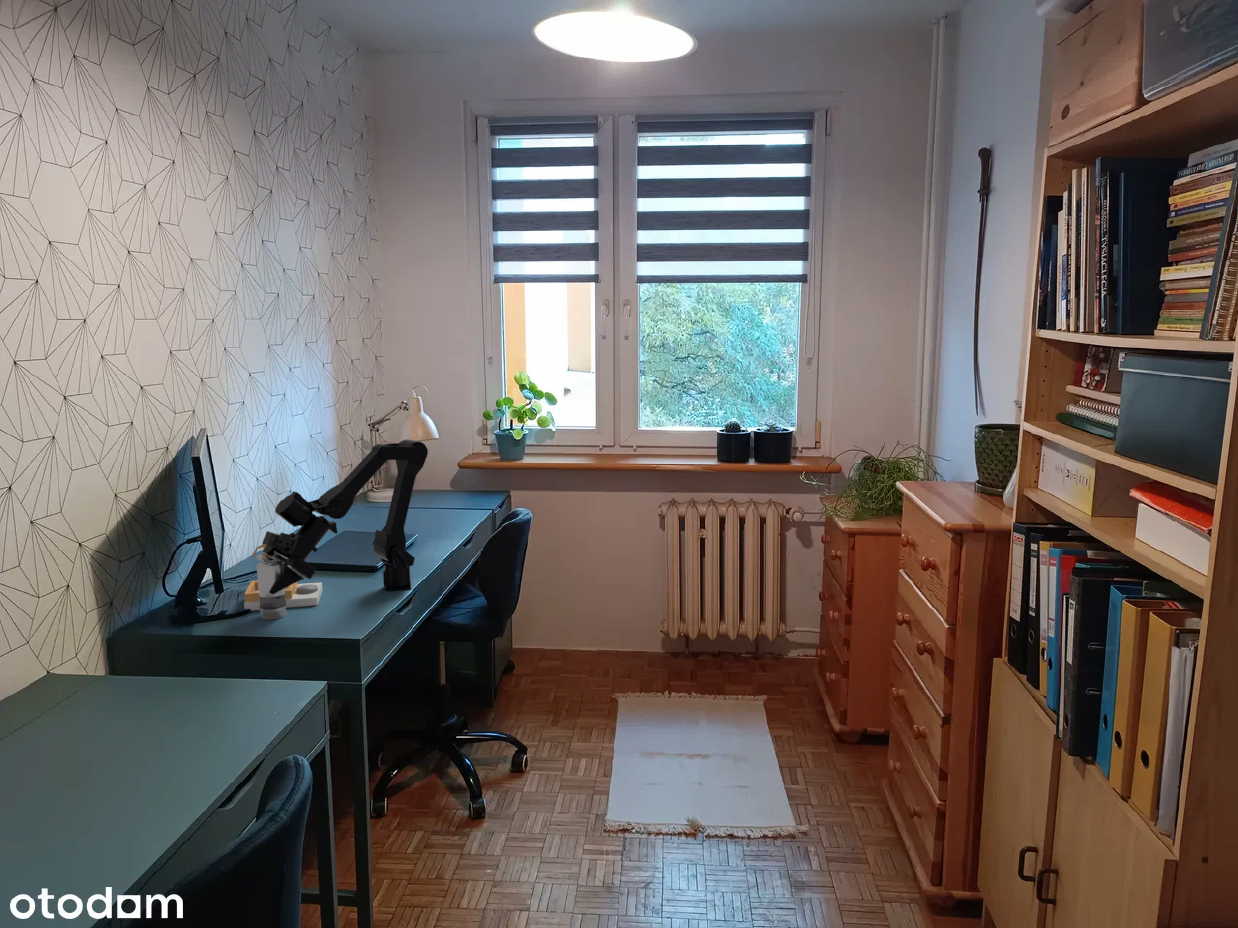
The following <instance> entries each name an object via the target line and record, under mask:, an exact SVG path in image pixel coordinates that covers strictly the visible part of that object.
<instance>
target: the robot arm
mask: <svg viewBox="0 0 1238 928" xmlns="http://www.w3.org/2000/svg"><path fill="white" fill-rule="evenodd" d="M428 454H429V449H428V447H427V445H426V444H425V443H424V442H422V441H418V440H414V439H413V440H412V439H403V440H401V441H400V442H396V443H395V442H394V443H393V442H391V443H377V444H375V445H373V446H372V448H371V450H370V452H369V453H368V454H367V455H366V456H364V458H363V459H362V460H361V461H360V462H359V463H358V464H357V465H356V466H355V467H354V468H353V470H351V472H350V473H349V474H348V475H347V477H345V478H344V479H343V480H342V481H341V482H340V483H339V484H337V485H335V486H332V487H331V488H329V489H328V490H326V492H323V494H322V495H321V496H319V497H318V498H317V499H314V500H311V501H307V500H306V499H305V498H304V497H303V496H302V495H301V494H300V493H299V492H297V491H292V492H291V493H290V494H288V495H287V496H285V497H284V498H283V499H281V500H280V501H279V502H278V503H277V505H276V506H275V511H274V512H275V513H276V514H277V515H278V516H279V517H280V518H282V519H283V520H284V521H286V522H287V523H288V524H290V525H291V526H292V527H294V528H296V527H298V526H299V528H298V530H297V531H296V532H292V533H291V532H290V533H289V534H288V533H285V532H280V533H275V532H272V531H268V530H267V531H266V532H265V535H264V537H263V540H262V544H266V545H267V546H266V547H265V549H264V548H263V550H262V552H263V554H267V555H268V556H267V555H266V561H269V560H279V561H282V562H283V563H281V573H280V575H279V576H278V578H277V579H276V581H275V583H274V584H273V586H272V588H271V589H270V591H269V593H271V594H275V593H277V592H279V591H280V590H282V589H284V588H286V587H288V586H290V585H292V584H294V583H296V582H297V583H298V582H299V581H301V580H302V581H303V580H305V579H308V580H309V581H310V580H312V578H313V577H314V576H315V574H316V568H315V567H314V566H313V565H311V564H310V563H309V562H307V561H306V560H307V558H308V557H309V556H310V555H311V553H312V552H313V553H316V552H317V551H318V548H317V546H318V544H319V543H320V542H321V541H322V539H324V537H325V535H327V533H328V532H331V533H333V534H336V535H337V534H338V528H337V522H336V521H334V520H338V519H339V520H340V519H342V518H344V517H345V516H346V515H347V514H348V512H349V511H350V509H351V508H352V506H353V505H354V502H355V500H356V496H357V495H358V493H359V492H360V491H361V489H363V488H364V487H365V486H366V485H367V483H368V482H369V481H370V480H371V479H372V478H373V477H374V476H375V475H376V474H377V472H378V471H379V470H380V469H381V468H382V467H383V466H384V465H385V464H386V463H387V461H393V460H395V465H396V469H397V474H396V478H395V481H394V482H395V483H394V488H393V491H392V496H391V500H390V504H389V510H388V513H387V516H386V517H387V518H386V523H385V525H384V526H383V527H382V529H381V530H378V529H375V532H374V533H375V535H374V540H373V542H372V543H371V544H372V546H373V552H374V553H375V555H376V556H377V557H378V558H379V559H380V561H381V563H383V564H384V569H383V570H382V578H383V579H382V580H383V587H384V588H385V591H387V592H388V591H398V590H399V591H400V590H409V589H412V580H411V567H412V566H413V565H414V563H415V556H413V555H412V554H411V553H409V552H408V551H407V550H406V549H407V537H406V532H405V525H406V521H407V519H408V518H407V516H408V513H409V508H410V504H411V501H412V496H413V490H414V487H415V483H416V477H417V475H418V474H419V473H420V472H421V470H422V468H424V466H425V463H426V460H427V457H428V456H429V455H428ZM316 513H317V514H319V515H318V516H317V515H316ZM325 516H326V517H328V518H330V519H334V520H333V521H330V520H329V519H327V518H326V517H325ZM262 544H261V545H262ZM303 576H304V577H305V578H304V577H303Z"/></svg>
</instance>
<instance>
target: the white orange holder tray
mask: <svg viewBox="0 0 1238 928" xmlns="http://www.w3.org/2000/svg"><path fill="white" fill-rule="evenodd" d="M322 592H323V582H311V583H298V582H296V583H294V584H292V585H290V586H288V587H286V588H285V596H286V609H287V608H289V609H290V608H298V607H299V608H300V607H310V606H318V605H319V602H320V599H321V596H322ZM243 595H244V596H243V597H244V602H243V606H244V608H243V609H245V608H249V609H251V610H250V611H260V603H259V588H258V580H251V581H250V583H249V585H248V587H247V588H246V590H245V592H244V594H243Z"/></svg>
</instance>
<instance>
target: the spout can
mask: <svg viewBox="0 0 1238 928" xmlns="http://www.w3.org/2000/svg"><path fill="white" fill-rule="evenodd" d="M255 558H256V559H257V560H258V561H259V562H257V564H256V574H257V581H258V588H259V603H260V610H259V611H260V619H262V620H266V621H271V620H278V619H282V618H284V617H286V616H287V608H286V596H285V588H284V589H282V590H280V591H279V592H277V593H275V594H271V593H269V591H270V589H271V588H272V586H273V584H274V583H275V581H276V579H277V578H278V576H279V575H280V573H281V563H283V562H282V561H279V560H269V561H267V559H266V560H265V559H264V558H263V555H261V554H260V553H258V554H257V556H256V557H255Z"/></svg>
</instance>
